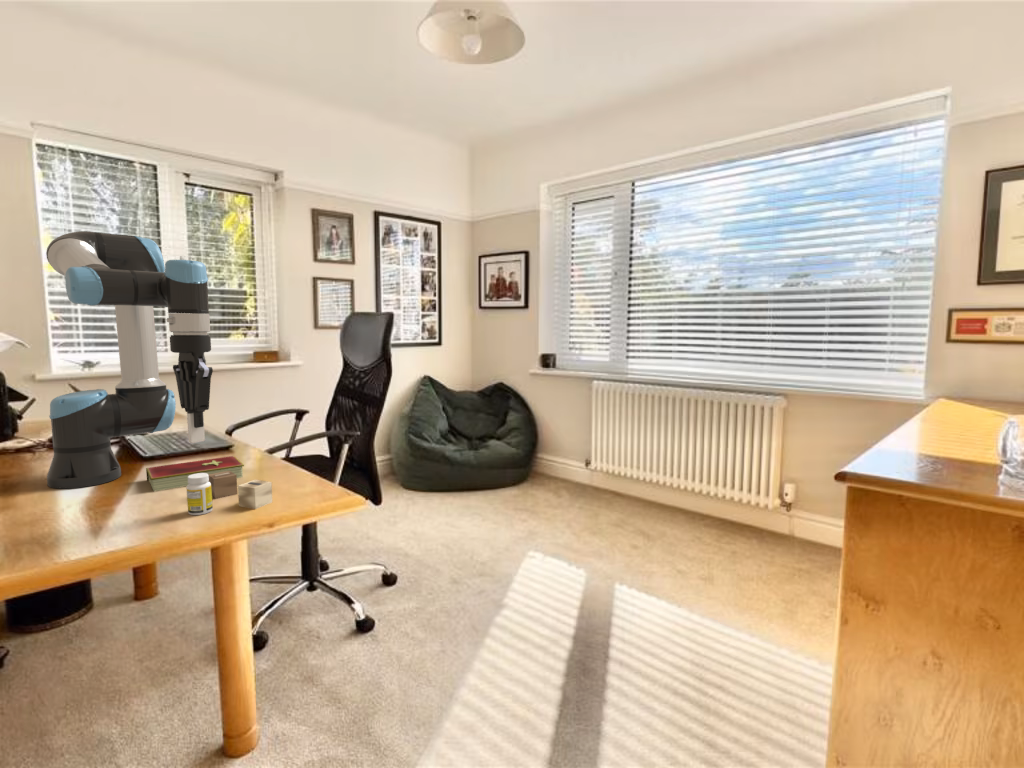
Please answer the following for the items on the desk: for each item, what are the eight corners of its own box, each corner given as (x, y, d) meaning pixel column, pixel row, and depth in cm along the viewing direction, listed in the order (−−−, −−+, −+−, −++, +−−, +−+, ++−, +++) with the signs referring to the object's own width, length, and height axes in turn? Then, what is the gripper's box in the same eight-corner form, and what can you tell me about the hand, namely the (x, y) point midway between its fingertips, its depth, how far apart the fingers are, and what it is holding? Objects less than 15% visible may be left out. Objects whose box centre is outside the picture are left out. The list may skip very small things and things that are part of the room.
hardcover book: (147, 481, 139) (145, 466, 139) (234, 468, 153) (233, 454, 152) (151, 494, 130) (150, 477, 130) (244, 478, 143) (243, 463, 143)
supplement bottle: (207, 506, 121) (205, 471, 120) (216, 511, 118) (214, 475, 117) (184, 512, 117) (182, 475, 116) (192, 517, 114) (190, 480, 113)
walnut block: (208, 494, 130) (207, 474, 129) (230, 489, 133) (229, 470, 133) (215, 499, 126) (214, 478, 126) (237, 494, 130) (236, 474, 129)
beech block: (238, 506, 122) (237, 485, 121) (256, 499, 126) (255, 479, 126) (255, 509, 120) (254, 487, 119) (272, 502, 125) (271, 481, 124)
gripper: (157, 333, 113) (164, 440, 116) (185, 334, 106) (192, 448, 109) (194, 333, 120) (200, 434, 122) (223, 334, 112) (229, 442, 115)
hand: (196, 441), depth 116 cm, fingers closed
